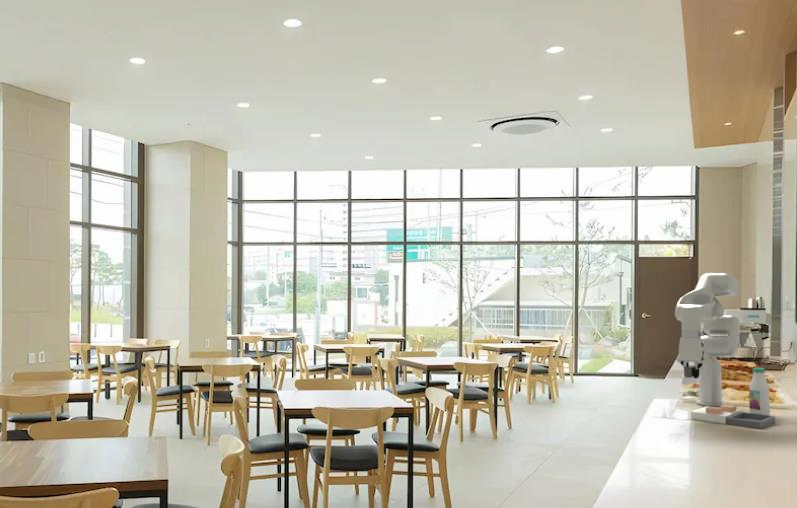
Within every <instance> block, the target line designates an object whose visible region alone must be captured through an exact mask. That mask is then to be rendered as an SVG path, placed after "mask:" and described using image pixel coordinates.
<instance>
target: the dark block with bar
mask: <svg viewBox="0 0 797 508" xmlns="http://www.w3.org/2000/svg"><path fill="white" fill-rule="evenodd" d="M694 369H695V365H694V364H692V365H689V366H686V367H683V377H682V380H681V381H682V386H683V385H684V386H685V385H691V384H694V383H699V381H701V374H699V377H698V378H696V379H695V378H694ZM685 376H686V377H685Z"/></svg>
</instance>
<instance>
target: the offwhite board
mask: <svg viewBox="0 0 797 508" xmlns="http://www.w3.org/2000/svg"><path fill="white" fill-rule="evenodd" d="M707 407H710V406H706V405H705V406H704V407H701V408H697V409H693V410H692V411H690V418H691V420H697V421H702V422H703V421H704V422H705V421H706V422H711V423H717V422H718V424H727V417H730V416H732V415H735V414H737V413H740V412H741V410H739V409H736V411H734V412H724V411H723V413H721V414H710V413H706V408H707Z"/></svg>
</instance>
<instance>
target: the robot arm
mask: <svg viewBox="0 0 797 508" xmlns="http://www.w3.org/2000/svg"><path fill="white" fill-rule="evenodd" d="M739 283H740V282H739V281H738V279H737V278H736V277H734V276H733V275H731V274H729V273H726V272H725V273H724V272H719V273H718V272H717V273H716V272H708V273H704V274H702V275H700V276H699V279H698V280H697V284H696V285H695V288H694V290H691V291H690V292H687V293H686V294H684V295H683V296H681V297H680V299H678V301H677V304H676V306H675V311H674V316H675V319H676V320H677V321H679V322H681V337H680V338H679V344H678V356H677V358H676V362H678V363H679V364H680V365H681V366H682V367H683V368H684V367H686V366H690V362H693V363H694V364H693V365H695V369H694V378H695V379H696V378H698V377H699V374H701V381H699V382H698V383H699V385H698V387H699V391H698V392H699V399H696V400H695V403H696V404H697V405H700V406H705V407H706V406H709V407H710V406H712V407H719V406H721V405H724V404H725V405H727V403H726V401H724V400H723V398H724V393H723V389H722V388H723V386H722V385H723V384H722V383H723V382H722V365H721V362H720V361H719V360H718V359H717V358H718V357H719V358H734V357H736V356H737V354H738V351H739V341H740V334H741V333H740V332H741V323H740V320H739V318H738V317H737V316H734V315H729V314H728V315H725V306H724V304H723V303H722V301H721V300H720V299H718V297H735V296H737V295H738V294H739V291H740V284H739ZM701 323H702V330H703V332H702V330H701ZM684 377H686V376H684Z"/></svg>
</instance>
